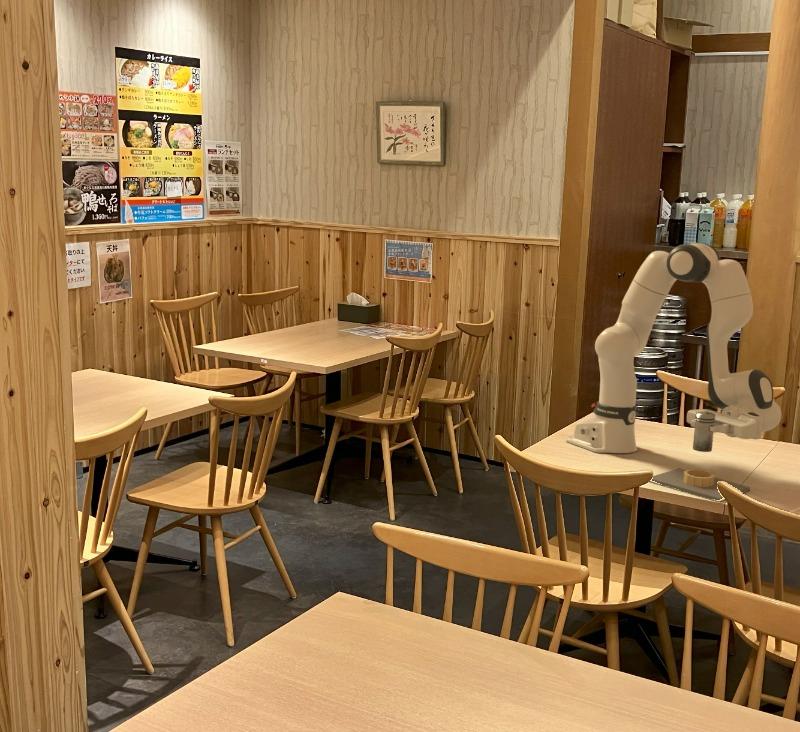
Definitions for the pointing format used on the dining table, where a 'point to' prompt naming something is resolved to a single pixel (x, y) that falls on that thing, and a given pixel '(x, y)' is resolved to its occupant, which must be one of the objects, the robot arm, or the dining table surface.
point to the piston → (703, 431)
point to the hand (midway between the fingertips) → (702, 426)
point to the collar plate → (699, 491)
